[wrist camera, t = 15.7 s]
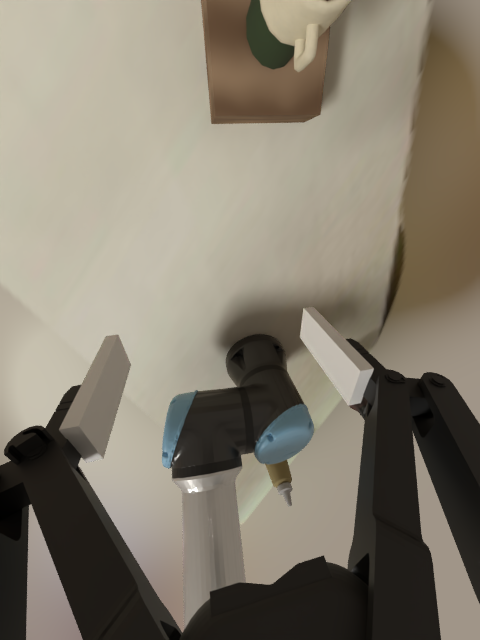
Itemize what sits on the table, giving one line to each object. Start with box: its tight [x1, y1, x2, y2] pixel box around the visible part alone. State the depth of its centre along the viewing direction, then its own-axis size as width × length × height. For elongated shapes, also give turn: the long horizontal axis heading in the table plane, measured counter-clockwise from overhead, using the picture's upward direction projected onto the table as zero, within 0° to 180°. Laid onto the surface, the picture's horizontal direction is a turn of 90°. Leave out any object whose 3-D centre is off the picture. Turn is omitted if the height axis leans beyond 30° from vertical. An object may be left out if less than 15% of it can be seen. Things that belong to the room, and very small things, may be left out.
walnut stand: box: [201, 0, 330, 124], centre depth 27 cm, size 14×14×5 cm
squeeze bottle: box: [266, 460, 292, 506], centre depth 76 cm, size 8×8×18 cm
